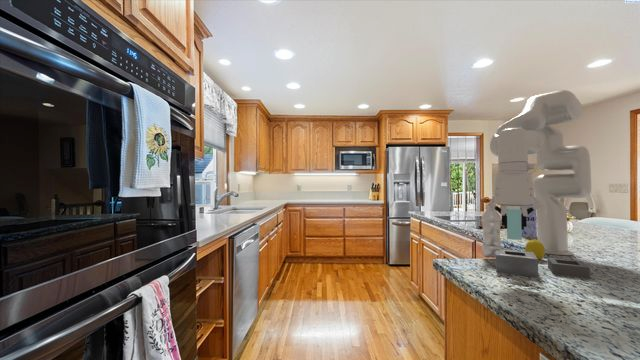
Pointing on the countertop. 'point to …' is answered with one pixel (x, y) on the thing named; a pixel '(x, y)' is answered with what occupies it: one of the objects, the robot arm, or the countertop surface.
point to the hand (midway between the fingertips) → (513, 228)
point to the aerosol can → (530, 224)
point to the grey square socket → (568, 268)
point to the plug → (514, 222)
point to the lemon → (535, 248)
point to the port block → (516, 262)
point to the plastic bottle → (491, 231)
